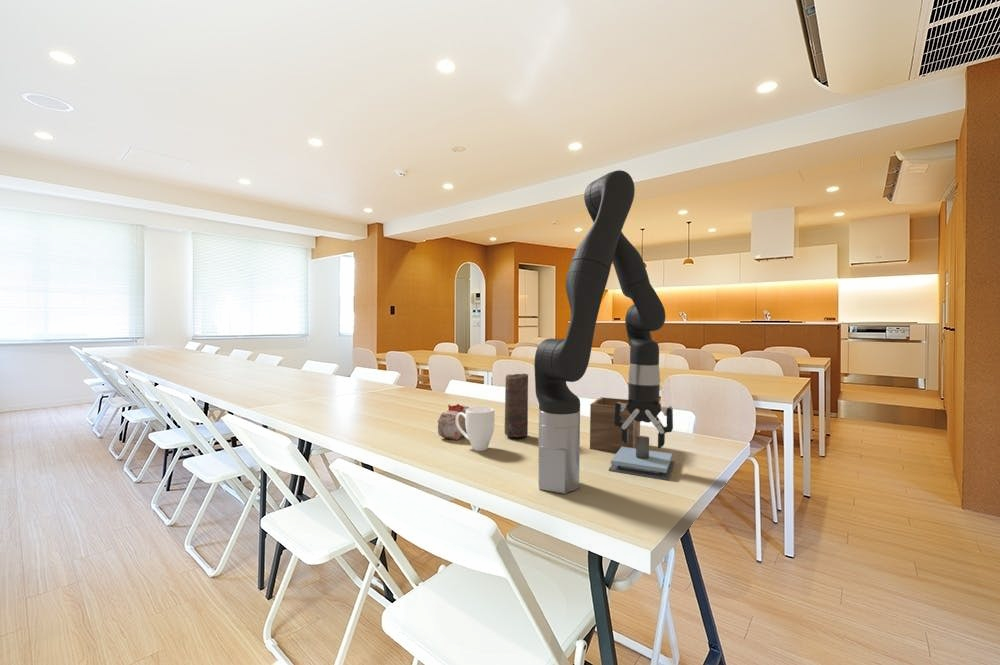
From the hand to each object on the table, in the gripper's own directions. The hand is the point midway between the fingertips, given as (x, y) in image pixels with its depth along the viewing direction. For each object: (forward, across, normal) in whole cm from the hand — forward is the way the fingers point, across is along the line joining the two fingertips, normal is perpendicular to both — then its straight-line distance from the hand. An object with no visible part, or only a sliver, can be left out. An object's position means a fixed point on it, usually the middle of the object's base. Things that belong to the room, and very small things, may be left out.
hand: (642, 445), depth 112 cm
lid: (+5, 0, 0) cm, 5 cm away
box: (+6, -10, +14) cm, 18 cm away
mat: (+6, 0, 0) cm, 6 cm away
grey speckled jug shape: (+6, -58, +3) cm, 59 cm away
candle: (+6, -40, +10) cm, 42 cm away
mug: (+6, -46, -6) cm, 47 cm away
